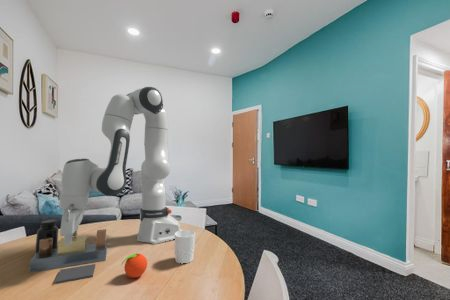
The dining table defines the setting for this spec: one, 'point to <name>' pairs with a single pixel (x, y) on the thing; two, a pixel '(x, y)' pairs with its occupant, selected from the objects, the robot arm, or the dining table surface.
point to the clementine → (135, 265)
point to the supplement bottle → (47, 233)
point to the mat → (75, 273)
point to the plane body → (68, 254)
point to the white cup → (184, 246)
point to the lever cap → (72, 245)
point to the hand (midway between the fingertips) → (71, 240)
